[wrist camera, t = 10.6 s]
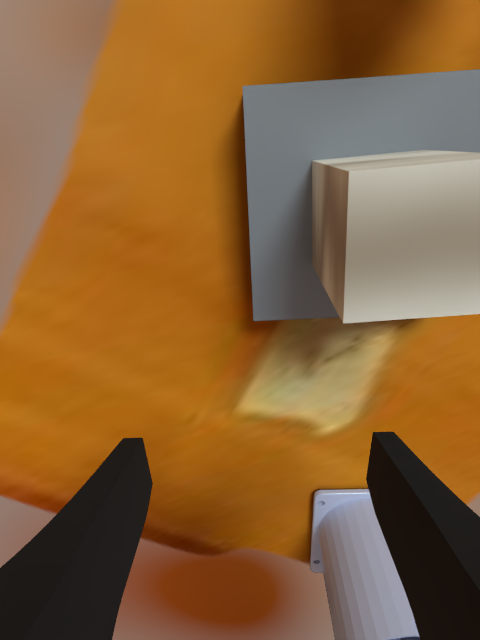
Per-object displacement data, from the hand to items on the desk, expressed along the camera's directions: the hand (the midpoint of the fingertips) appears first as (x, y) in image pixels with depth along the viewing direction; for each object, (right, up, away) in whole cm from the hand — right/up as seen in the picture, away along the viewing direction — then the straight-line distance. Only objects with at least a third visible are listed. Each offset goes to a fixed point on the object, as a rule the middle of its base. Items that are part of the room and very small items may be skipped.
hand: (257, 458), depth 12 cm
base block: (+5, +10, +7) cm, 13 cm away
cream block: (+5, +9, +4) cm, 11 cm away
